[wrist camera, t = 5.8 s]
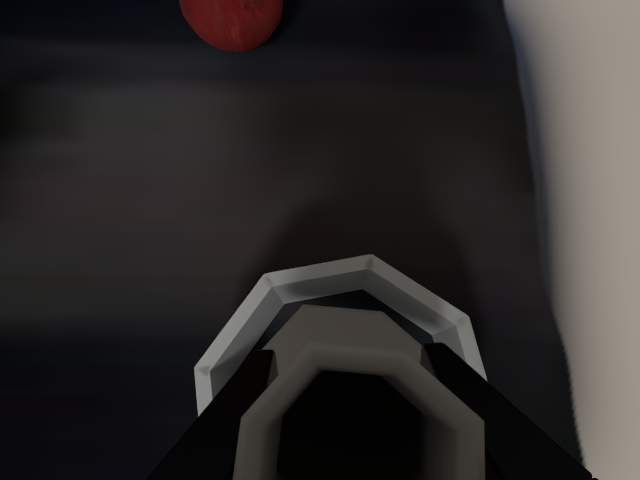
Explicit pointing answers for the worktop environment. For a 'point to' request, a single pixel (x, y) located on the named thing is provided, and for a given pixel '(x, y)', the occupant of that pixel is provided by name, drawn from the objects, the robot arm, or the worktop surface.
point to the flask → (355, 407)
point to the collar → (323, 282)
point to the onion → (233, 21)
